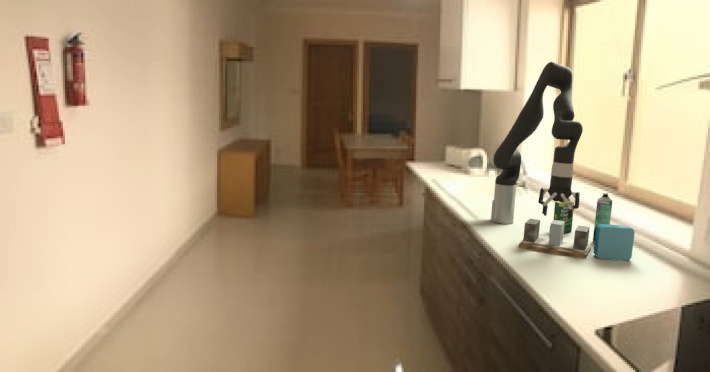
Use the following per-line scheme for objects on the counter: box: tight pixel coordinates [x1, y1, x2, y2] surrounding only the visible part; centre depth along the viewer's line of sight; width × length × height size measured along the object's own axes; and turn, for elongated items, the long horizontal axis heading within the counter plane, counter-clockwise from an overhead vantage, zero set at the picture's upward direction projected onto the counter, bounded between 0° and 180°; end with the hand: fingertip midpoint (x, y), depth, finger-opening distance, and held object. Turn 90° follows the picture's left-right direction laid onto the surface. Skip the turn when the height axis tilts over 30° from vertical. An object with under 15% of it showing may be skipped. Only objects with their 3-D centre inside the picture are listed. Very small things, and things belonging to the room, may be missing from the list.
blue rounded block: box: [593, 224, 636, 262], centre depth 210 cm, size 12×4×12 cm, turn 83°
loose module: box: [548, 219, 565, 246], centre depth 219 cm, size 4×7×8 cm, turn 152°
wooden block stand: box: [518, 218, 592, 260], centre depth 220 cm, size 24×14×9 cm, turn 62°
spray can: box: [592, 192, 613, 244], centre depth 231 cm, size 6×6×20 cm
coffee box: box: [553, 200, 575, 233], centre depth 246 cm, size 8×3×13 cm, turn 107°
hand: (556, 217), depth 218 cm, fingers open, 8 cm apart
